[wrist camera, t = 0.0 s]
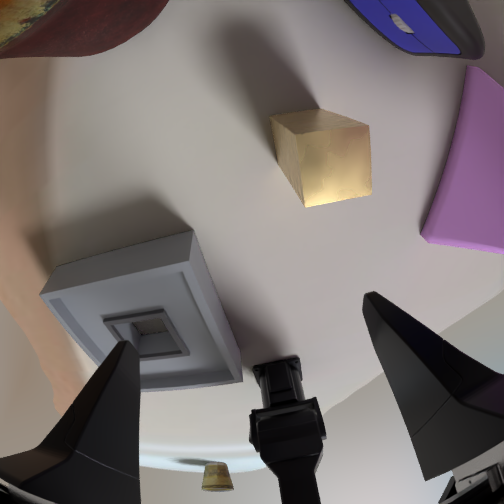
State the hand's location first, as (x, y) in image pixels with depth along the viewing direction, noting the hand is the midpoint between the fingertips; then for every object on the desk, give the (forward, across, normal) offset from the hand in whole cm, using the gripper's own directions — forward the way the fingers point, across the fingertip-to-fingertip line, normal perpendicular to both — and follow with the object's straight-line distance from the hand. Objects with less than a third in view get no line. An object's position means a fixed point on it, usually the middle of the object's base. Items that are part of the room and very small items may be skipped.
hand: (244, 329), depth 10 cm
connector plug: (+15, -6, -3) cm, 16 cm away
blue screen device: (+15, -14, -17) cm, 26 cm away
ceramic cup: (+15, +26, +87) cm, 92 cm away
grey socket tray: (+15, +12, +12) cm, 23 cm away
